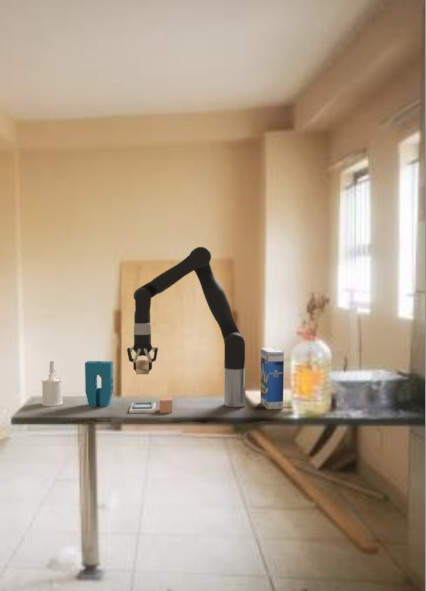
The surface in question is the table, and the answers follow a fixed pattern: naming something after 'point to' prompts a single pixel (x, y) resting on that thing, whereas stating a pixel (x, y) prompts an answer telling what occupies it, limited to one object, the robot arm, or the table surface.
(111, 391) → the block
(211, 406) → the table surface
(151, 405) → the blueprint baseplate
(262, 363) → the string lights box
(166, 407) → the terracotta block
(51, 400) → the white nozzle bottle
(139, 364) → the maple block
